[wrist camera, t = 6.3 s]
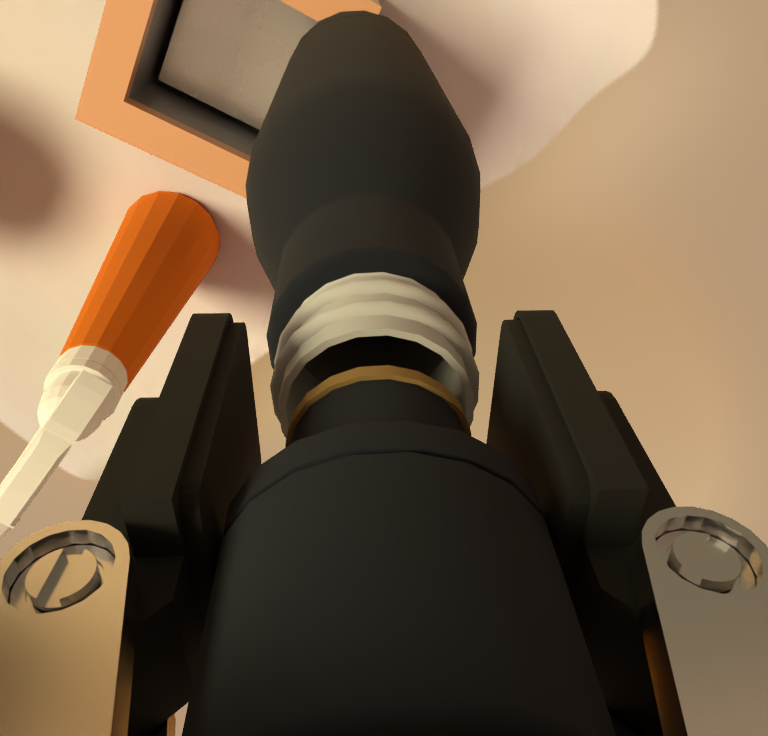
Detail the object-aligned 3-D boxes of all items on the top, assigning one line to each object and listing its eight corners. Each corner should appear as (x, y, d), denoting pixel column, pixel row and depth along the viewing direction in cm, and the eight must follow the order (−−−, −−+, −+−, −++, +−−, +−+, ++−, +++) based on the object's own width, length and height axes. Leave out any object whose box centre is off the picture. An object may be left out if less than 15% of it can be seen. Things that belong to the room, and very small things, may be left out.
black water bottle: (317, -19, 28) (69, 456, 3) (453, 50, 30) (1010, 722, 5) (266, 126, 31) (-64, 952, 6) (392, 182, 33) (533, 1006, 8)
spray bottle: (82, 276, 52) (-113, 529, 30) (155, 169, 48) (-10, 372, 26) (163, 327, 55) (39, 593, 33) (239, 230, 51) (154, 460, 29)
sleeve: (190, -117, 39) (141, -132, 30) (374, -9, 43) (381, 7, 33) (131, 80, 45) (74, 118, 36) (298, 162, 48) (286, 216, 39)
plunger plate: (201, -47, 37) (198, -47, 36) (318, 19, 39) (318, 21, 38) (162, 76, 40) (157, 79, 39) (272, 131, 42) (270, 135, 41)
